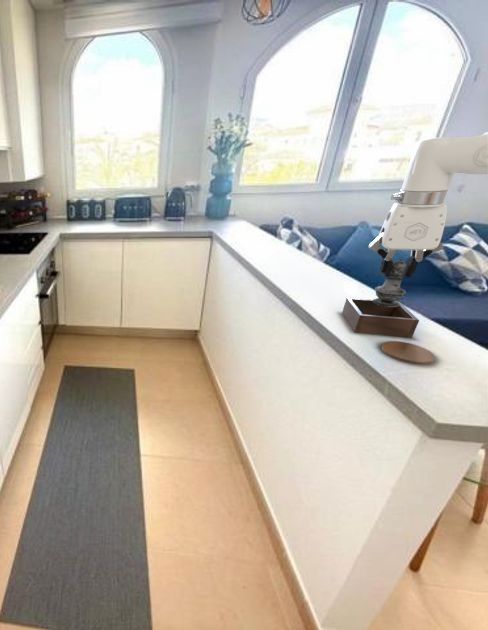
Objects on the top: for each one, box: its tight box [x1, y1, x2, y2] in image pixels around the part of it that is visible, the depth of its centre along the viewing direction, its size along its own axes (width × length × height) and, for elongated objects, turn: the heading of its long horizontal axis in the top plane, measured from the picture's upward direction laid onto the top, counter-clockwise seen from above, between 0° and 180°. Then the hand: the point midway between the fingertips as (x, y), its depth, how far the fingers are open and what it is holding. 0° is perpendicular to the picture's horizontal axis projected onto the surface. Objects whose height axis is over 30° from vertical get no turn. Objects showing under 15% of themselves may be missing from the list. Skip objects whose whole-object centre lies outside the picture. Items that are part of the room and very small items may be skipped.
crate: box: [341, 297, 420, 339], centre depth 91 cm, size 12×12×5 cm
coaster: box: [380, 340, 436, 365], centre depth 79 cm, size 9×9×1 cm
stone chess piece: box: [372, 257, 407, 307], centre depth 86 cm, size 6×6×12 cm
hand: (395, 274), depth 85 cm, fingers closed on stone chess piece, 3 cm apart
